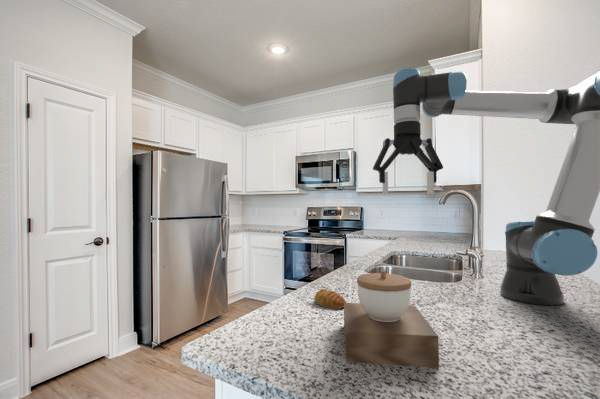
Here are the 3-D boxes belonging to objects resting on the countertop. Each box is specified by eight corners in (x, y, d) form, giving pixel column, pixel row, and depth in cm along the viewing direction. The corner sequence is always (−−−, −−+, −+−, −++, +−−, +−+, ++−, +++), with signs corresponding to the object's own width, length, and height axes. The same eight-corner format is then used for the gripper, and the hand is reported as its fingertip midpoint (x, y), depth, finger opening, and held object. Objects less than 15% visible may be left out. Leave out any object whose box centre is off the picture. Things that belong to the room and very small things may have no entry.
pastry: (351, 306, 83) (351, 293, 83) (336, 312, 78) (335, 298, 78) (327, 299, 90) (327, 286, 90) (311, 304, 85) (311, 291, 85)
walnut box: (415, 331, 67) (414, 305, 67) (439, 370, 51) (438, 336, 51) (344, 328, 69) (343, 302, 69) (346, 365, 53) (345, 331, 53)
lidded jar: (409, 331, 53) (408, 279, 53) (351, 321, 57) (350, 273, 58) (414, 312, 62) (413, 267, 63) (364, 305, 67) (363, 264, 67)
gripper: (441, 126, 92) (442, 194, 91) (362, 126, 91) (363, 194, 90) (454, 119, 84) (456, 193, 84) (368, 119, 83) (369, 193, 83)
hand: (408, 194), depth 87 cm, fingers open, 13 cm apart
